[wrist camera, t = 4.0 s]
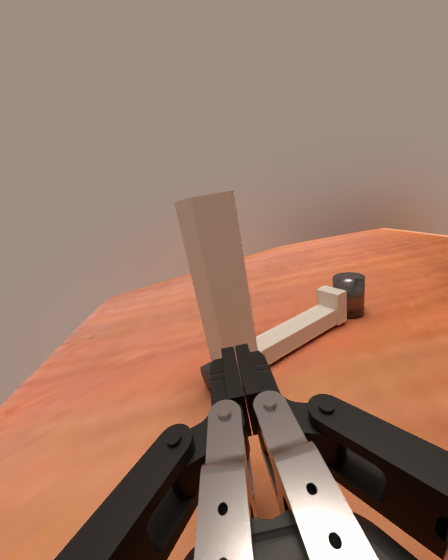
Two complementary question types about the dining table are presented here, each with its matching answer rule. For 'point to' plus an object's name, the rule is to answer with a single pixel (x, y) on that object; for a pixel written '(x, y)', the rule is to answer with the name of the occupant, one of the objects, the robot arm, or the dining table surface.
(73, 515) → the dining table surface
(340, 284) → the post
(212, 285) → the beige l-shaped bracket
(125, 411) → the dining table surface
